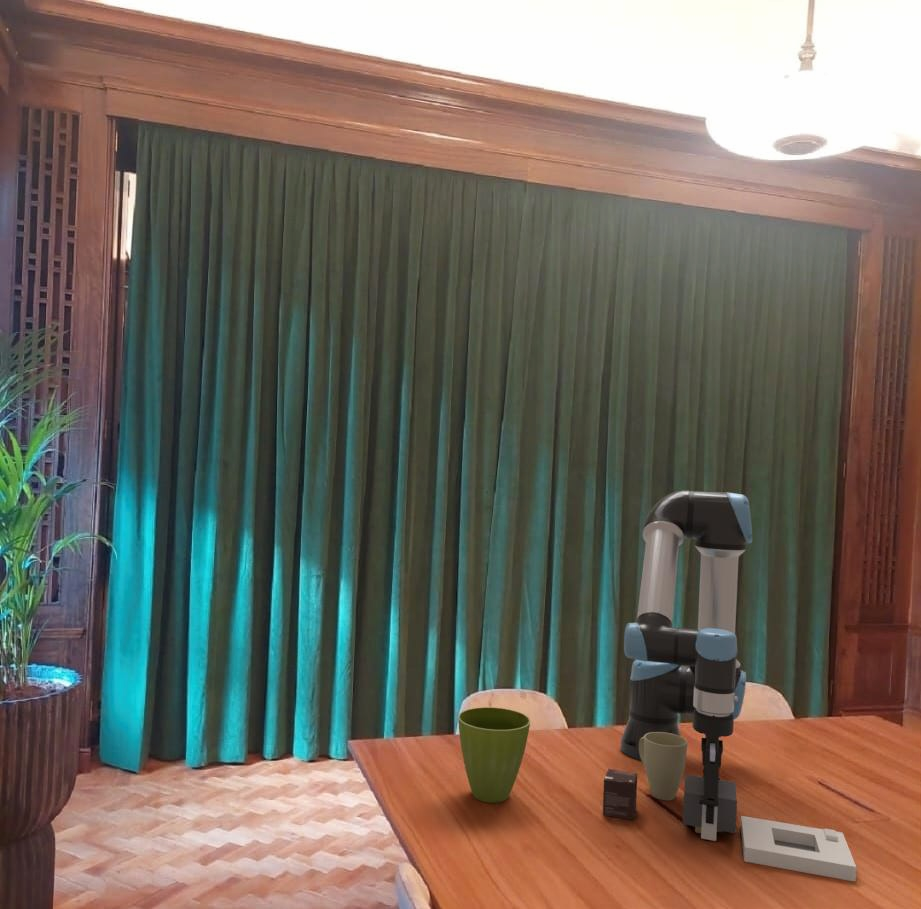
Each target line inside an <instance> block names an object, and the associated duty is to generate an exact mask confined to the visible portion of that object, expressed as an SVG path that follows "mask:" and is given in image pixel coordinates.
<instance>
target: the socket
mask: <svg viewBox="0 0 921 909" xmlns="http://www.w3.org/2000/svg"><path fill="white" fill-rule="evenodd" d="M740 836H741V845H742V854H743V862H745V863H751V864H755V865H756V864H757V865H762V866H765V867H766V866H767V867H773V868H779V869H785V870H789V871H794V872H800V873H805V874H811V875H816V876H822V877H828V878H833V879H839V880H845V881H849V882H857V865H856V862H855V860H854V857H853V855H852V852H851V850H850V847H849V846H848V843H847V840H846V838H845V835H844V832H841V831H836V830H835V829H830V828H816V827H811V826H806V825H798V824H792V823H787V822H781V821H773V820H768V819H763V818H756V817H751V816H744V815H741V816H740Z"/></svg>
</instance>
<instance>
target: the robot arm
mask: <svg viewBox="0 0 921 909" xmlns="http://www.w3.org/2000/svg"><path fill="white" fill-rule="evenodd" d="M751 516H752V515H751V508H750V502H749V499H748V497H747V496H746V495H745V494H740V493H734V492H728V491H727V492H721V491H719V492H718V491H701V490H700V491H698V490H695V491H694V490H677V491H675V492H671V493H669V494H667V495H665V496H664V497H663V498H661V499H660V500H658V502H656V503H655V505H654V506H653V507H652V508H651V509H650V511H649V512H648V513H647V515H646V518H645V520H644V523H643V526H642V527H643V528H642V539H643V541H644V542H645V548H644V557H643V565H642V574H641V582H640V589H639V599H638V607H637V616H636V622H628V623H627V624H626V626H625V629H624V636H623V639H624V640H623V652H624V655H625V656H626V658H628V659H631V660H634V661H633V662H632V664H631V665H632V666H631V675H630V677H629V678H630V693H629V694H630V695H629V714H628V720H627V722H626V726H625V728H624V731H623V733H622V736H621V739H620V750H621V752H622V753H624V754H625V756H626V755H627V756H628V757H630V758H633V759H636V760H640V761H642V760H641V757H640V754H639V741H640V739H641V738H642V737H644V735H645V734H647V733H651V732H665V733H671V734H675V735H678V736H681V731H680V727H679V723H678V721H679V715H681V714H682V715H687V716H688V715H689V716H692V728H693V730H694V731H695V732H697V733H700V734H702V735H704V737H701V744H700V745H701V753H702V754H701V756H702V758H701V759H702V760H701V765H702V766H703V769H702V773H703V775H702V777H704V799H703V800H699V804H702V826H701V833H700V839H702V840H709V841H713V842H717V834H718V833H717V811H718V780H721V778H720V777H719V775H720V769H721V767H722V755H723V752H724V744H723V743H724V741H723V740H720V739H719V738H723V737H725V738H726V737H730V736H731V735H733V733H734V724H735V723H734V720H737V719H738V718H739V716H740V715H741V711H742V708H743V704H744V698H745V692H746V684H747V672H746V671H744V670H741V663H740V661H739V660H738V659H737V655H738V651H739V650H738V640H737V637H738V636H737V635H736V619H737V618H736V616H737V600H738V599H737V597H738V596H737V595H738V578H739V577H738V573H739V558H740V556H741V555H743V553H744V552H746V546H747V544H749V545H750V544H751V543H752V542H753V527H752V517H751ZM684 539H688V540H689V539H691V540H694V541H695V542H694V547H695V549H696V550H697V551H698V552H699V553H700V571H699V574H700V575H699V598H698V614H697V616H698V618H697V620H698V621H697V629H693V628H682V627H676V626H675V627H674V626H673V622H674V621H673V620H674V608H675V598H676V583H677V582H676V581H677V572H678V571H677V570H678V562H679V561H678V560H679V559H678V558H679V546H681V545H682V544H683V542H684ZM681 737H682V736H681ZM710 798H712V799H710Z"/></svg>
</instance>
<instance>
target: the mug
mask: <svg viewBox="0 0 921 909" xmlns="http://www.w3.org/2000/svg"><path fill="white" fill-rule="evenodd" d="M687 751H688V740H687V739H686V738H685V737H683V736H678V735H675V734H671V733H665V732H651V733H647V734H645V735H644V737H642V738H641V739H640V741H639V754H640V757H641V760H640V761H641V762H642V765H643V767H644V768H645V775H646V778H647V783H648V786H649V790H650V793H651V796H652V797H653V798H655V799H658V800H660V799H661V801H672V800H674V799H675V798H676V796H677V793H678V790H679V787H680V784H681V782H682V780H683V777H684V773H685V767H686V759H687Z"/></svg>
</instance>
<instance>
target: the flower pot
mask: <svg viewBox="0 0 921 909" xmlns="http://www.w3.org/2000/svg"><path fill="white" fill-rule="evenodd" d="M458 714H459V715H458V717H457V720H458V730H459V740H460V748H461V754H462V758H463V759H462V760H463V764H464V768H465V772H466V776H467V779H468V783H469V787H470V790H471V793H472V795H473V797H474V798H475V799H476V800H478V801H480V802H482V803H483V802H484V803H491V804H494V803H495V804H496V803H503V802H505V801H506V800H508V799H509V796H510V795H511V792H512V790H513V788H514V785H515V782H516V779H517V777H518V774H519V770H520V767H521V765H522V762H523V758H524V754H525V750H526V747H527V741H528V736H529V730H530V725H531V719H530V717H529V716H527V715H526V714H524V713H522V712H519V711H516V710H513V709H508V708H502V707H488V706H487V707H475V708H469V709H465V710H464V711H462V712H460V713H458Z"/></svg>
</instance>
